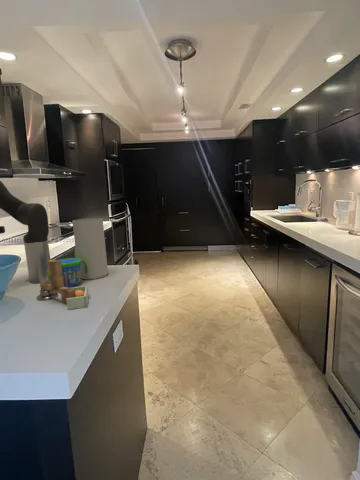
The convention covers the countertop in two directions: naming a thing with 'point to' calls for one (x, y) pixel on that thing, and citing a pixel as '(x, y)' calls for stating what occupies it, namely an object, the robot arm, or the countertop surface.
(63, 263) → the snack cup
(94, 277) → the cylinder vase
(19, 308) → the countertop surface
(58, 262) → the lever
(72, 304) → the sage green c-shaped clamp
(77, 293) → the ball
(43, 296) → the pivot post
